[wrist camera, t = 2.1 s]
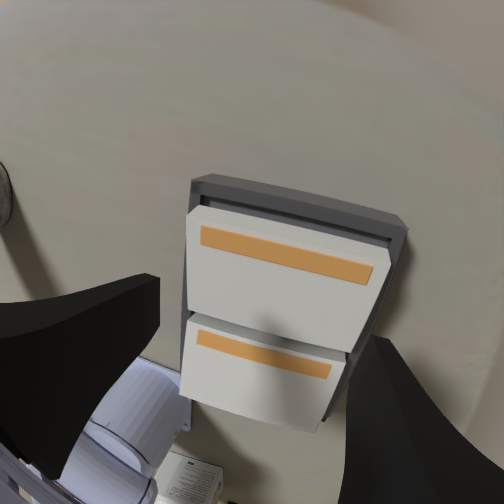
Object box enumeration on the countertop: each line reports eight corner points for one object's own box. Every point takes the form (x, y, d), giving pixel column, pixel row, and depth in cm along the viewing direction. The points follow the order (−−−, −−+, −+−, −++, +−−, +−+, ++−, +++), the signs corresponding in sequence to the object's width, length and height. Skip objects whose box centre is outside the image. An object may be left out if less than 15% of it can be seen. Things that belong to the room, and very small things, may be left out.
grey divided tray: (331, 390, 23) (328, 422, 19) (194, 352, 25) (176, 379, 22) (397, 215, 17) (411, 232, 14) (211, 173, 19) (186, 180, 16)
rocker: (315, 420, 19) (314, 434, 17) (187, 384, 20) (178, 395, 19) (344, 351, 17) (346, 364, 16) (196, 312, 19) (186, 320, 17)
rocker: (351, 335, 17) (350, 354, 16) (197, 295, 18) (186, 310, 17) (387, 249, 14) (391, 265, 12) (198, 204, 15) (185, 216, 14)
